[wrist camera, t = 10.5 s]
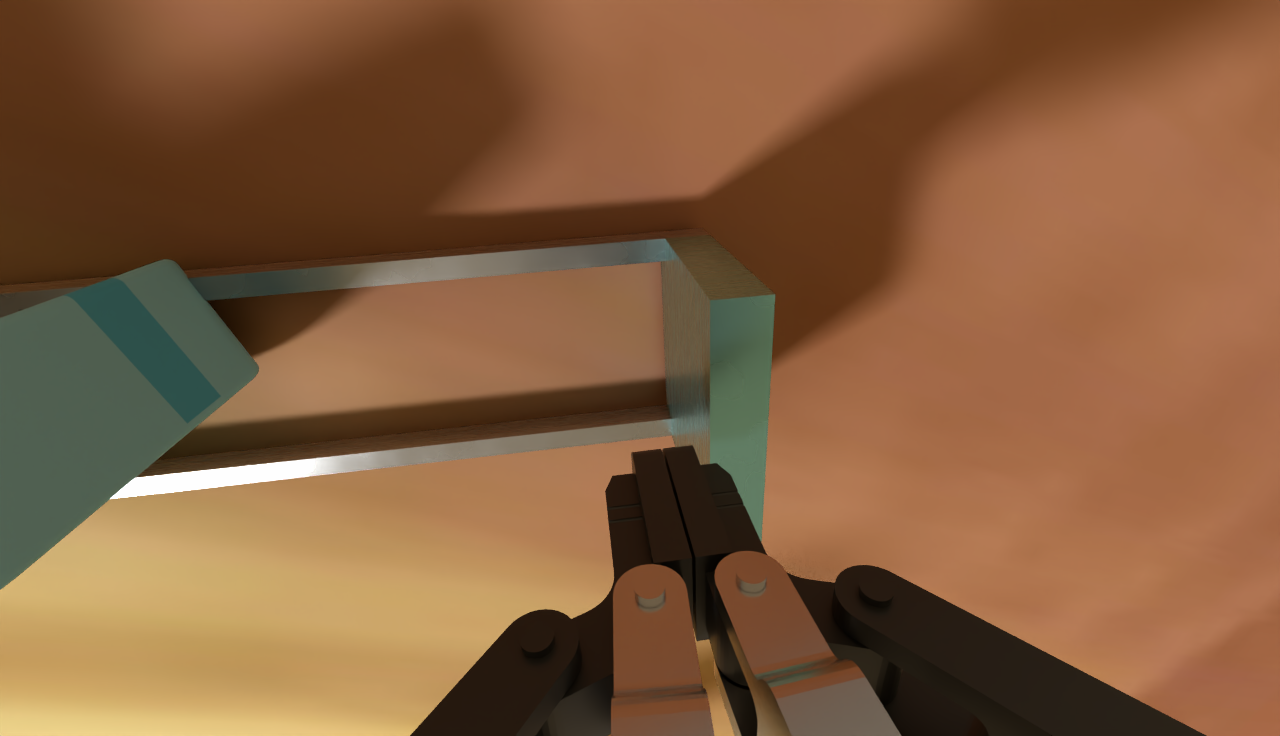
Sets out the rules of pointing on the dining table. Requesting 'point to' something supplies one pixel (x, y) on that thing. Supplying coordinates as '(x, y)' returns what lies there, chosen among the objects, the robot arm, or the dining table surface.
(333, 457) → the frame
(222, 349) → the data package
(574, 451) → the dining table surface
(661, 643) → the robot arm
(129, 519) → the dining table surface
